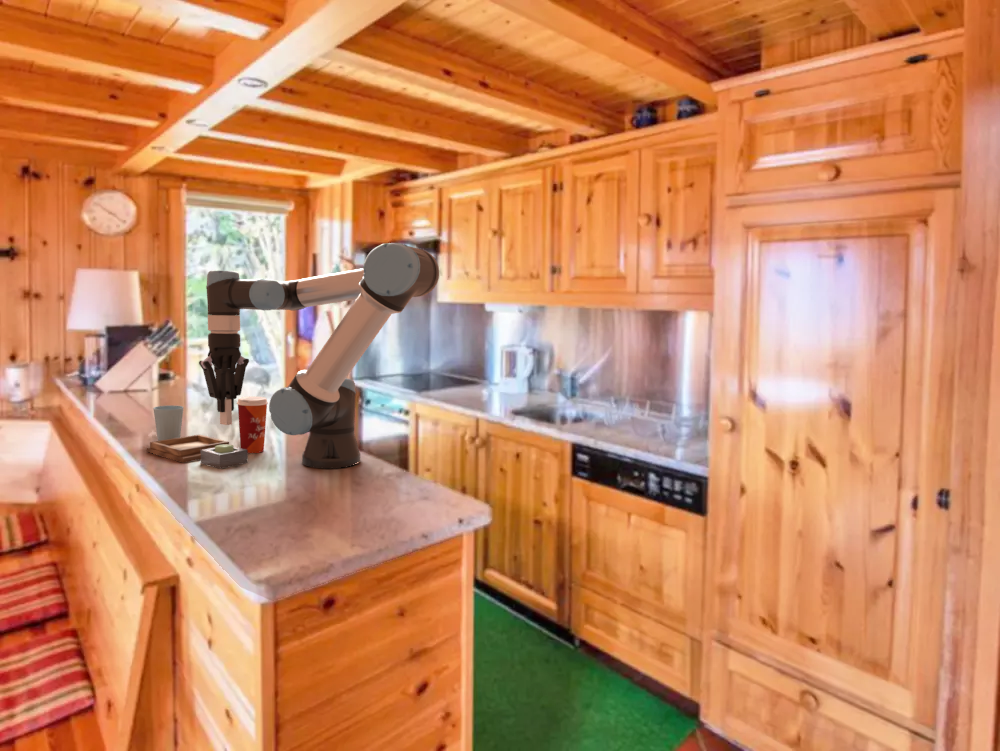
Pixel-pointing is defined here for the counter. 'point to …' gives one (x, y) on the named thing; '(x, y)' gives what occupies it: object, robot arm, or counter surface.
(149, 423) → the counter surface
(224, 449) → the button
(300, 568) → the counter surface
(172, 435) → the cup
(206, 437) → the wooden tray
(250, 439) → the coffee cup
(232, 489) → the counter surface
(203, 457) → the button housing
